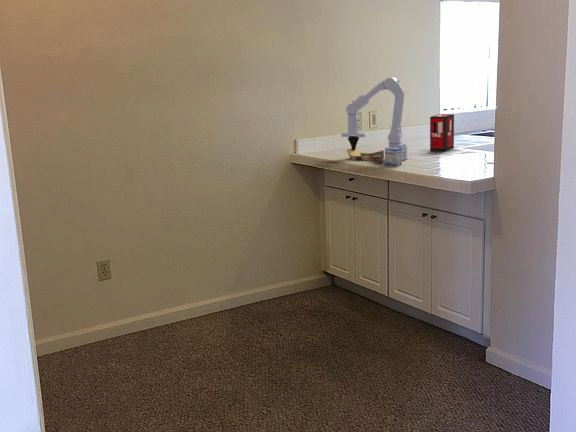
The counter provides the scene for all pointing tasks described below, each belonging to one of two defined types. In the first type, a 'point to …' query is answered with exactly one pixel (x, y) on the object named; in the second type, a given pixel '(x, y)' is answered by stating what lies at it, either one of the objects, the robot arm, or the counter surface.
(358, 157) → the brown wooden drawer
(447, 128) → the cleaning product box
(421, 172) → the counter surface
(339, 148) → the counter surface
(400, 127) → the robot arm
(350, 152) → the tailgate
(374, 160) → the walnut crate
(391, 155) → the medicine box
